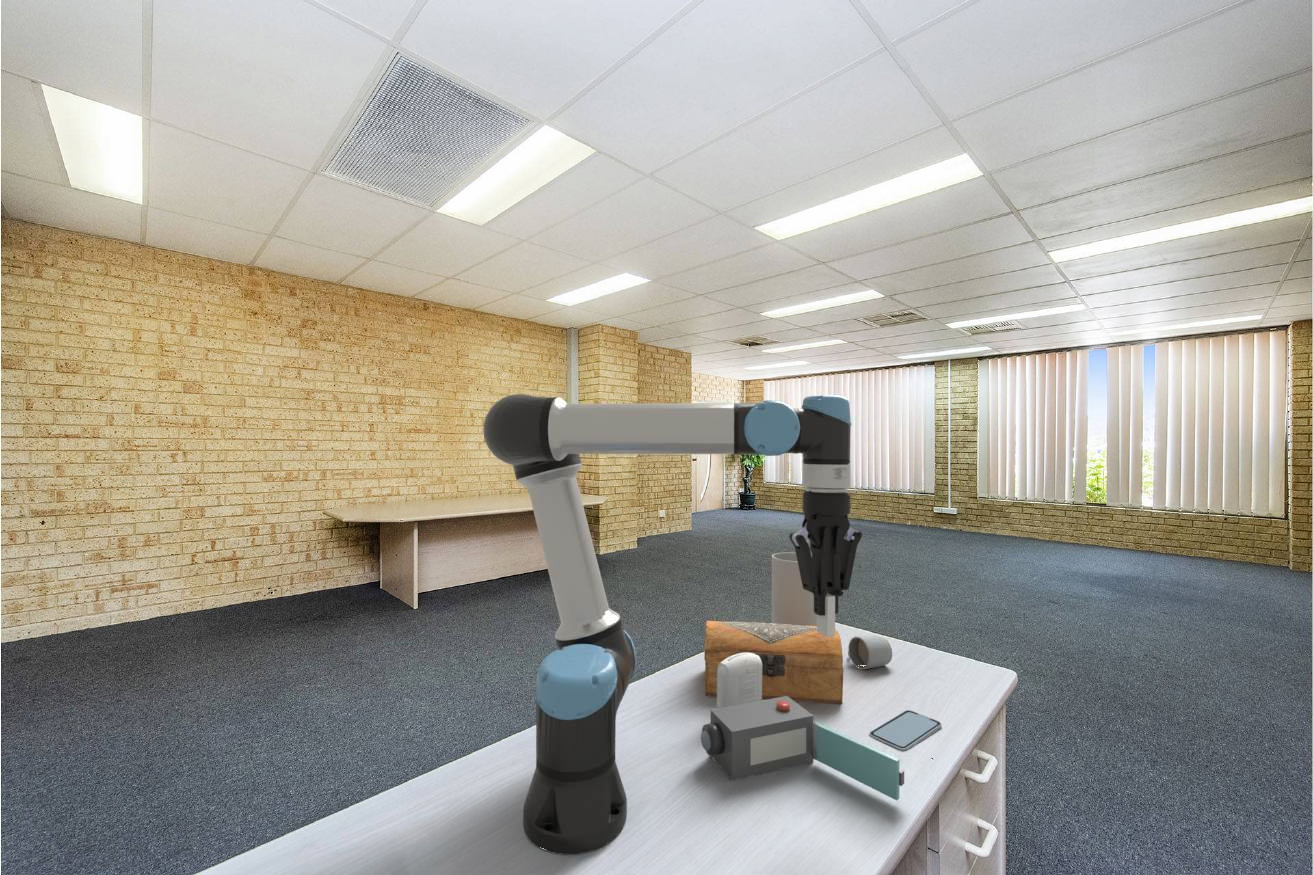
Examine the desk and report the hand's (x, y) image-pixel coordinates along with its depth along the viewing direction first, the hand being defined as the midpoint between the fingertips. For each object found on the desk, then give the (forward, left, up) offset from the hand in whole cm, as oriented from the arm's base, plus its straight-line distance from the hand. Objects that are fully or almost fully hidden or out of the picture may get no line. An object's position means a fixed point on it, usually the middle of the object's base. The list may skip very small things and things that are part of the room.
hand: (825, 633), depth 90 cm
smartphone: (+25, +9, -25) cm, 37 cm away
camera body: (-7, +10, -24) cm, 27 cm away
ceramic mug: (+41, +37, -25) cm, 61 cm away
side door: (+5, -1, -23) cm, 24 cm away
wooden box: (+11, +34, -25) cm, 44 cm away
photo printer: (-2, +25, -25) cm, 35 cm away
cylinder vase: (+30, +52, -25) cm, 65 cm away
